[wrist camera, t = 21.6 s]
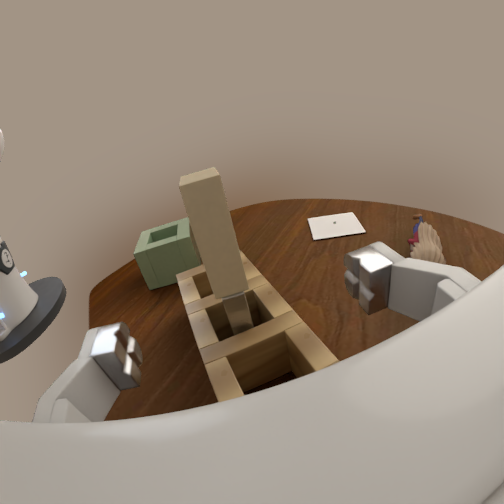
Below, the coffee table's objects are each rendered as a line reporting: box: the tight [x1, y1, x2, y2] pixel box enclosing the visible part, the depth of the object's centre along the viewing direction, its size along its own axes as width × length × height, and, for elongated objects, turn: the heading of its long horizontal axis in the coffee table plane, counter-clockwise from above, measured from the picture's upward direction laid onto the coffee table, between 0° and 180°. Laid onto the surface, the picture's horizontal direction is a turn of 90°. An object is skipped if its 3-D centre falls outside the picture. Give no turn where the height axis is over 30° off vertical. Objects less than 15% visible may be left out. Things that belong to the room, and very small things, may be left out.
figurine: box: [408, 214, 446, 264], centre depth 29 cm, size 6×4×15 cm
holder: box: [133, 218, 201, 290], centre depth 39 cm, size 8×8×6 cm
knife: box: [179, 167, 254, 336], centre depth 20 cm, size 2×4×16 cm, turn 13°
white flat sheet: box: [308, 212, 366, 240], centre depth 42 cm, size 8×8×1 cm
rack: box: [176, 251, 340, 402], centre depth 23 cm, size 20×8×5 cm, turn 22°
